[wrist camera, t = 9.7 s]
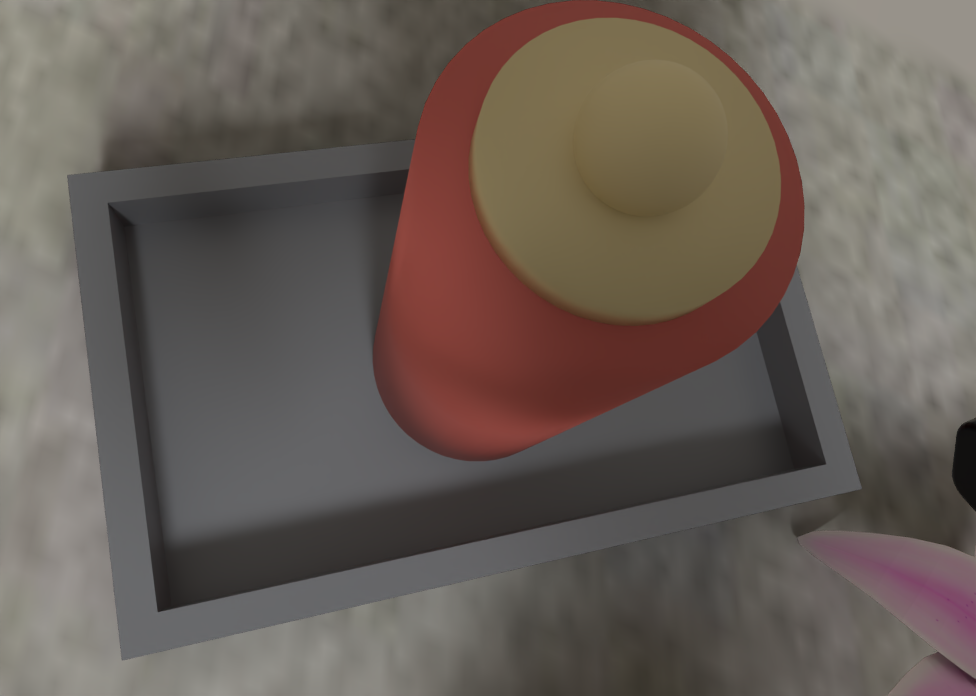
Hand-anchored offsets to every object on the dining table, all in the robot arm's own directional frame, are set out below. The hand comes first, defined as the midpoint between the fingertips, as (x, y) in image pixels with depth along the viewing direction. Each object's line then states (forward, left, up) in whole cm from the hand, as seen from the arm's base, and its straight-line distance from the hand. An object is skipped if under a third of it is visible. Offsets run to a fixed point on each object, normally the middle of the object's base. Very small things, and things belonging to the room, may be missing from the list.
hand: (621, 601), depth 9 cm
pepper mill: (+4, -4, -11) cm, 13 cm away
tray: (+4, -4, -12) cm, 14 cm away
